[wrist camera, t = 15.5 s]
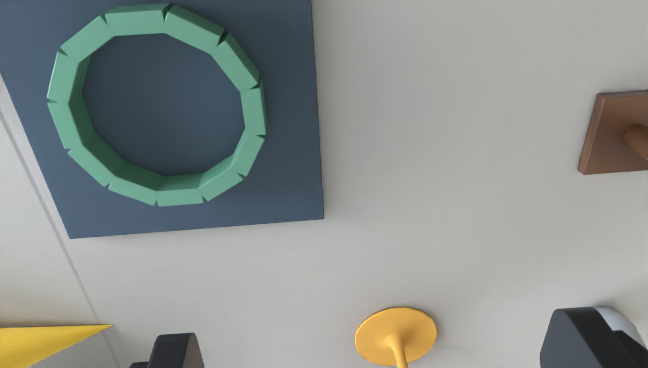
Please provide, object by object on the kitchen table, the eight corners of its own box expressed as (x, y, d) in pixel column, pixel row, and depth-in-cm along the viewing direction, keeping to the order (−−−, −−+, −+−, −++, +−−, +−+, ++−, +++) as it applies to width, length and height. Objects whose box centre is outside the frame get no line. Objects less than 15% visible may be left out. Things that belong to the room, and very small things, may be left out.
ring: (33, 11, 31) (14, 19, 29) (252, -3, 31) (249, 4, 29) (98, 195, 38) (87, 212, 36) (274, 182, 39) (273, 198, 37)
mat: (-39, -46, 30) (-49, -44, 29) (306, -66, 30) (307, -65, 29) (74, 232, 41) (69, 239, 40) (323, 212, 42) (324, 219, 41)
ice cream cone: (119, 301, 51) (-92, 352, 47) (101, 287, 46) (-141, 343, 41) (125, 359, 49) (-97, 419, 44) (107, 352, 43) (-149, 419, 39)
